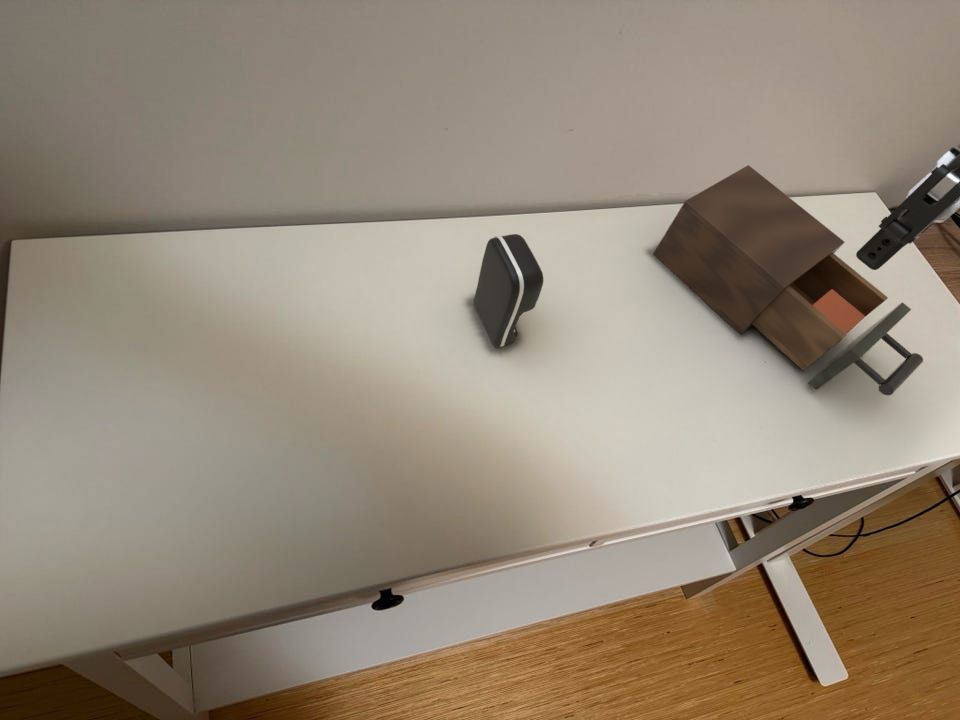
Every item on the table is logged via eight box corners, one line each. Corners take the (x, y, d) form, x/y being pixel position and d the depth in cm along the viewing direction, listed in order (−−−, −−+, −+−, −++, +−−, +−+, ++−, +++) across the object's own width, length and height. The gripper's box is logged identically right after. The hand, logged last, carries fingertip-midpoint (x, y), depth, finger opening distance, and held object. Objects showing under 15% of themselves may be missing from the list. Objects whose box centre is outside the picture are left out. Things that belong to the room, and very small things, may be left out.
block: (838, 338, 69) (865, 316, 65) (817, 357, 67) (845, 335, 63) (806, 311, 71) (832, 288, 67) (786, 329, 69) (811, 306, 65)
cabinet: (797, 290, 75) (845, 241, 68) (739, 334, 70) (785, 287, 62) (712, 217, 80) (748, 164, 72) (652, 253, 75) (684, 200, 67)
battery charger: (526, 342, 64) (553, 276, 55) (494, 351, 63) (516, 285, 54) (501, 293, 67) (523, 223, 58) (471, 300, 66) (488, 229, 57)
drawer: (899, 374, 69) (950, 340, 63) (851, 423, 64) (901, 392, 58) (777, 270, 75) (814, 230, 69) (725, 308, 70) (759, 269, 64)
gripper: (1089, 141, 35) (886, 305, 48) (1156, 80, 41) (959, 241, 54) (975, 71, 37) (813, 246, 51) (1054, 23, 43) (891, 191, 57)
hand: (889, 243), depth 53 cm, fingers open, 8 cm apart
